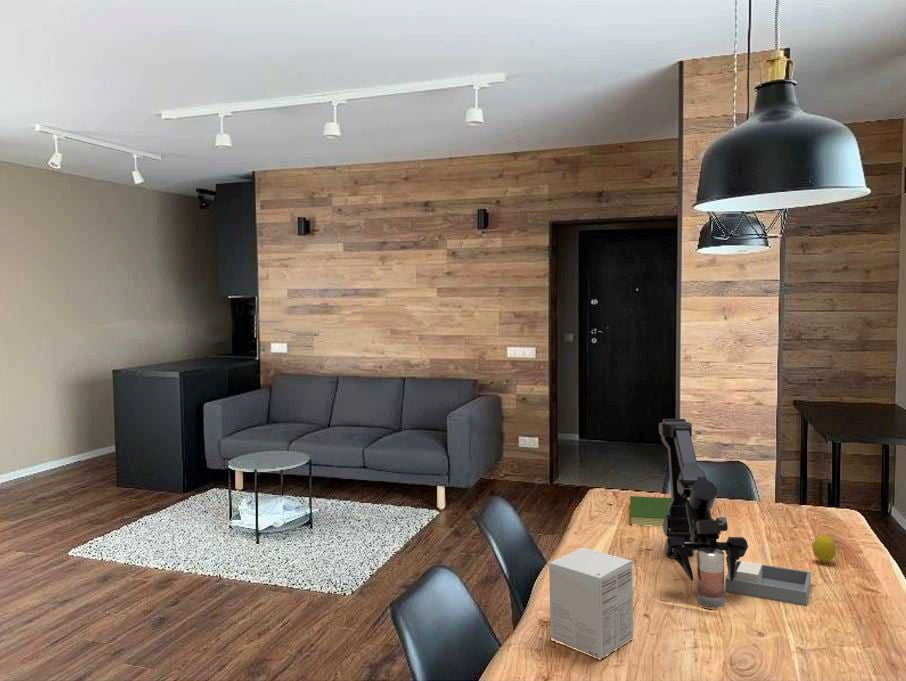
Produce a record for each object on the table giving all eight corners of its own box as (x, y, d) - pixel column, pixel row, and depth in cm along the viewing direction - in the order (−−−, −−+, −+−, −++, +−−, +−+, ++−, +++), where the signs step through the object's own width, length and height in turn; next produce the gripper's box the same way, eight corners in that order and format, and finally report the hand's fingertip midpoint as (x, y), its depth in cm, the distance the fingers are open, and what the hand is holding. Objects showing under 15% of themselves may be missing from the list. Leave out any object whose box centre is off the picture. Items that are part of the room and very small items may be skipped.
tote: (725, 594, 173) (725, 578, 173) (734, 575, 185) (734, 560, 185) (806, 608, 164) (806, 592, 164) (810, 587, 176) (810, 572, 176)
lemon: (838, 567, 189) (838, 538, 188) (816, 566, 190) (816, 537, 189) (831, 559, 194) (831, 531, 194) (810, 558, 195) (810, 530, 195)
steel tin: (694, 607, 166) (694, 553, 165) (700, 597, 171) (699, 545, 171) (721, 612, 163) (721, 558, 162) (726, 602, 168) (726, 549, 168)
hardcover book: (690, 530, 223) (690, 519, 223) (630, 527, 228) (630, 516, 228) (684, 508, 248) (684, 497, 247) (630, 505, 252) (630, 495, 252)
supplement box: (635, 639, 151) (634, 560, 150) (601, 662, 142) (599, 578, 141) (584, 620, 160) (582, 546, 160) (548, 641, 151) (547, 561, 150)
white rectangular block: (736, 586, 175) (736, 571, 175) (741, 575, 182) (741, 560, 182) (758, 590, 173) (758, 574, 173) (762, 579, 180) (762, 564, 179)
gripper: (666, 504, 171) (676, 565, 160) (745, 504, 169) (761, 566, 159) (660, 525, 179) (669, 585, 169) (735, 526, 177) (749, 586, 167)
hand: (712, 580), depth 165 cm, fingers open, 9 cm apart
